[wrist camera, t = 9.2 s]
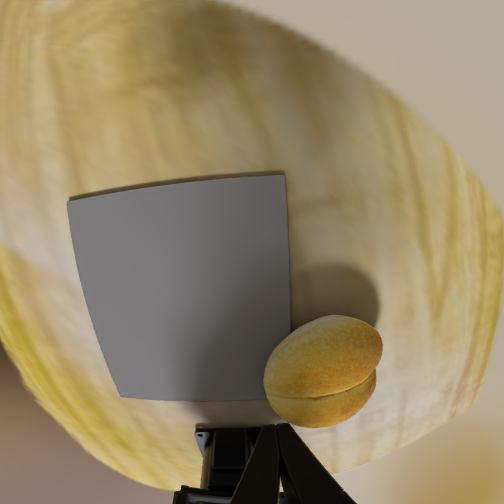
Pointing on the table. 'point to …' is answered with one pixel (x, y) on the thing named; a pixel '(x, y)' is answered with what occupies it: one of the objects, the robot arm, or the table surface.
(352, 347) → the bread roll
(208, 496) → the robot arm
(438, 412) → the table surface
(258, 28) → the table surface
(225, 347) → the serving mat
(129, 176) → the table surface
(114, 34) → the table surface
